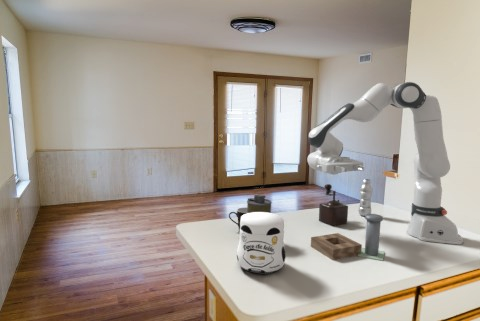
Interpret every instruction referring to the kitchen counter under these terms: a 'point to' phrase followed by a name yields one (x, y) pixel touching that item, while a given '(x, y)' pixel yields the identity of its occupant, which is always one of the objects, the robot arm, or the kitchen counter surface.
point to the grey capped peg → (372, 234)
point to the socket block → (335, 246)
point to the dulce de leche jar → (261, 242)
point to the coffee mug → (239, 215)
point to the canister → (258, 204)
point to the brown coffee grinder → (333, 210)
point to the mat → (378, 257)
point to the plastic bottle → (365, 198)
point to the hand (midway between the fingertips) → (354, 169)
